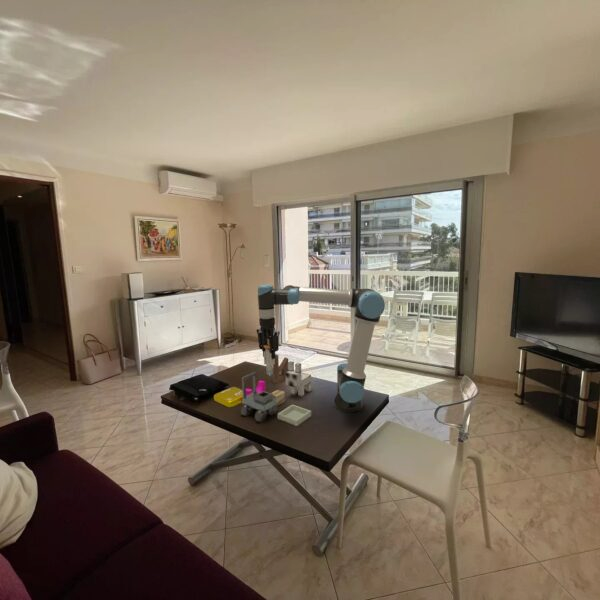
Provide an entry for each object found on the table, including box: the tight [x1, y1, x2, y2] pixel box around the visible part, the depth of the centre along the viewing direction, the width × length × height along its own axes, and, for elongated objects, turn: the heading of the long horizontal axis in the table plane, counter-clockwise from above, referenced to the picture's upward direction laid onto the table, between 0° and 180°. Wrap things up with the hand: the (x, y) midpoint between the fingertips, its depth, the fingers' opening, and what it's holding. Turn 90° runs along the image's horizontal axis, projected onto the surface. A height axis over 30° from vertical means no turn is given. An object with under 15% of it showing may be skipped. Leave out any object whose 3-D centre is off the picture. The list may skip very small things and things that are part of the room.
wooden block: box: [271, 353, 289, 384], centre depth 204 cm, size 4×11×18 cm, turn 130°
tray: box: [276, 404, 312, 427], centre depth 159 cm, size 12×12×3 cm
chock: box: [271, 389, 286, 407], centre depth 175 cm, size 5×7×6 cm
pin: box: [264, 342, 273, 377], centre depth 156 cm, size 5×5×15 cm
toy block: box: [246, 380, 267, 396], centre depth 181 cm, size 15×6×8 cm, turn 151°
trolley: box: [240, 371, 278, 423], centre depth 161 cm, size 15×14×20 cm
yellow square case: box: [213, 386, 243, 408], centre depth 179 cm, size 15×15×5 cm
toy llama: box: [285, 361, 312, 398], centre depth 186 cm, size 8×18×20 cm, turn 146°
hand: (269, 364), depth 156 cm, fingers closed on pin, 3 cm apart
